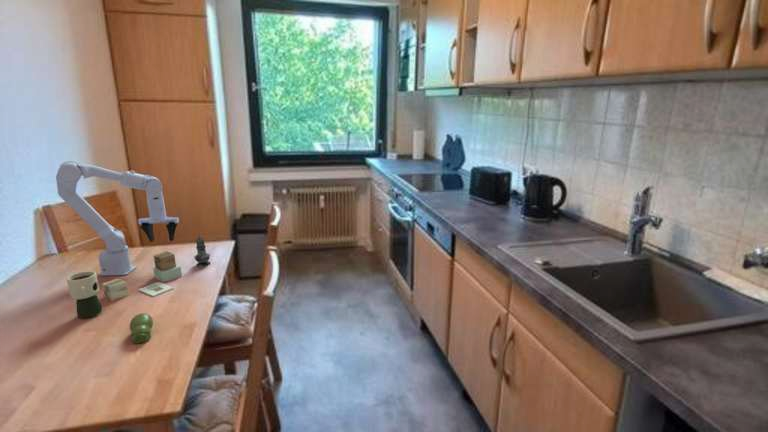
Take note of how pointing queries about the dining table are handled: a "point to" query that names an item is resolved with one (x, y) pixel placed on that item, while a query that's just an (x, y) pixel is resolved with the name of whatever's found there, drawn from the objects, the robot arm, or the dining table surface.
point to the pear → (141, 328)
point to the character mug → (85, 293)
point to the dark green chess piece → (201, 254)
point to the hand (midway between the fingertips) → (162, 240)
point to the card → (155, 289)
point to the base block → (167, 273)
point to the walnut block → (164, 261)
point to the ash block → (115, 289)
